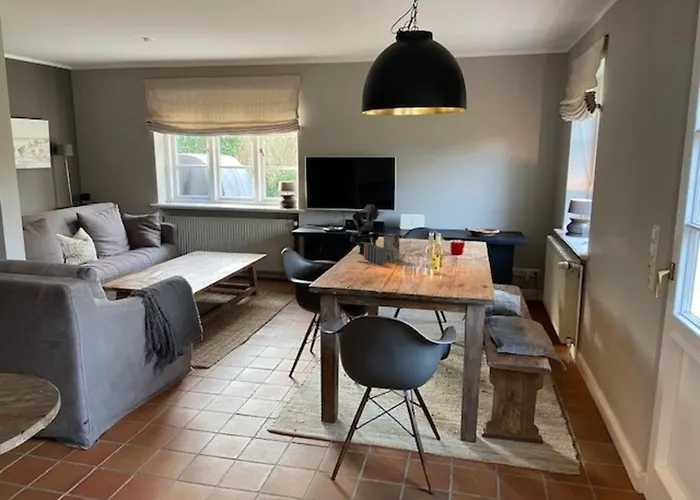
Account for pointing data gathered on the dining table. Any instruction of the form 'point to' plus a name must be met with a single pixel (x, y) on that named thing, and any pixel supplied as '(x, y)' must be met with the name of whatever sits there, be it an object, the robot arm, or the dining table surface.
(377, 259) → the domino
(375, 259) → the domino
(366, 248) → the loose domino
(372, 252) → the domino
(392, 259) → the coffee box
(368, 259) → the domino
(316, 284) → the dining table surface
